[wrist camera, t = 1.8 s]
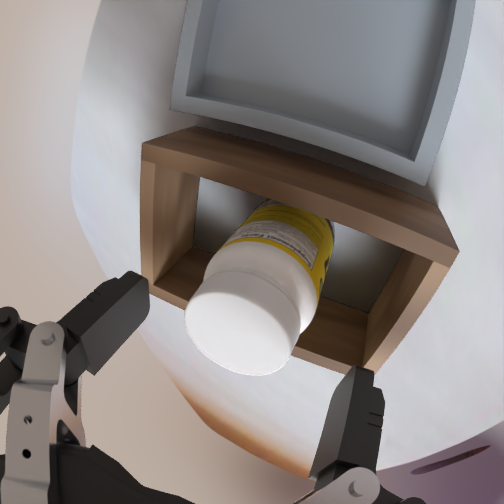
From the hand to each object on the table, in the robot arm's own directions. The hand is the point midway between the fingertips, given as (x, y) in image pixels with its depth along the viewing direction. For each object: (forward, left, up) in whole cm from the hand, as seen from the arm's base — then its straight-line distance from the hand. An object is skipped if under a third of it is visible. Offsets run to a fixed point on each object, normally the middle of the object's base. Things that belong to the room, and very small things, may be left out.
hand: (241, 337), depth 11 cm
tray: (-11, -1, -8) cm, 13 cm away
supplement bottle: (0, 0, -8) cm, 8 cm away
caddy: (0, 0, -8) cm, 8 cm away
